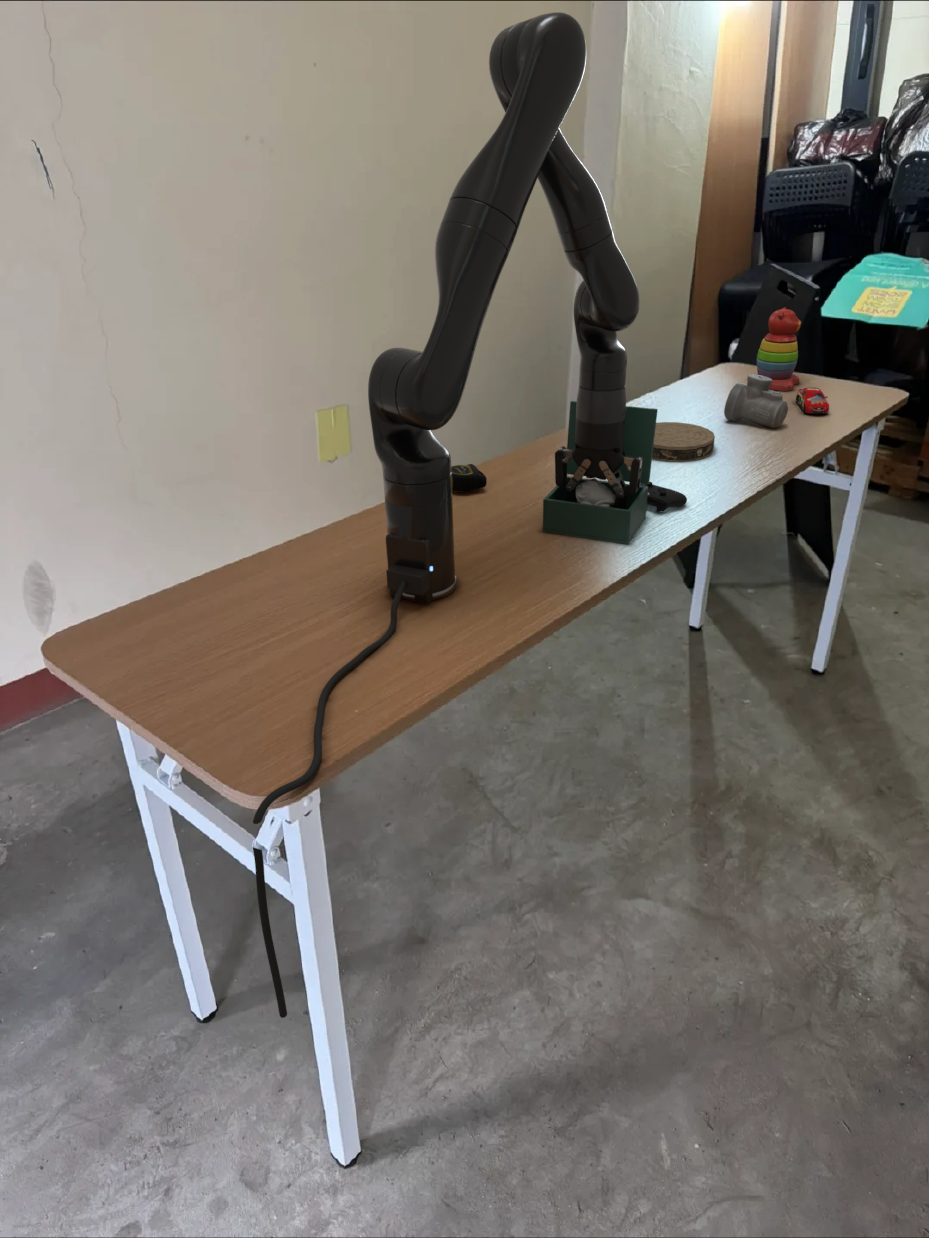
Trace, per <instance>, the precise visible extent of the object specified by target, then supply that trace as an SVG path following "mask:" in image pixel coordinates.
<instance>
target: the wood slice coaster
mask: <svg viewBox="0 0 929 1238" xmlns="http://www.w3.org/2000/svg"><path fill="white" fill-rule="evenodd" d="M715 439H716V436H715V433H714V432H713V431H712V430H710V429H709V428H707V427H704V426H702V425H698V424H693V423H686V422H678V421H677V422H676V421H662V422H656V428H655V437H654V445H653V454H652V461H660V462H666V463H686V462H687V463H688V462H695V461H699V460H705V459H706V458H708V457H709V456H711V455H712V454H713V452H714V447H715Z"/></svg>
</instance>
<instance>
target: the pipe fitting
mask: <svg viewBox="0 0 929 1238" xmlns="http://www.w3.org/2000/svg"><path fill="white" fill-rule="evenodd" d="M746 381H747V383H746V382H745V383H744V382H737V383H735V384H734V386H733V387H732V388H731V389H730V391H729V393H728V396H727V398H726V400H725V404H724V409H723V411H724V412H723V415H724V417H725V419H727V420H729V421H733V422H737V421H740V420H741V419H744V420H746V421H750V422H753V423H755V424H758V425H762V426H766V427H768V428H771V429H772V428H773V429H777V428H779V427H780V426H781V425H782V424H783V423H784V421H785V420H786V418H787V416H788V413H789V405H788V402H787V401H786V400H784V399H783V394H782V393H781V391H778V390H772V389H769V387H770V385H771V383H772V379H771V378H769V377H766V376H762V375H758V374H756V373H749V374H748V375H747V379H746Z"/></svg>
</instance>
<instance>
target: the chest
mask: <svg viewBox="0 0 929 1238" xmlns="http://www.w3.org/2000/svg"><path fill="white" fill-rule="evenodd" d="M572 477H573V476H568V475H567V478H569V479H572ZM590 479H591V478H584V477H582V479H581V480H580V482H579V483H578V484H577V486H578V485H580V484H581V483H583V482H585V481H587V480H590ZM598 480H599V481H600V482H601V484H603V485H605V486H607V488H609V489H610V490H611V491H612V493H613V494H614V495H615V496H616V497H617V495H616V493H615V491H614V489H613V487H611V486H610V484H609V482H608V480H600V479H598ZM625 484H626V486H629V483H625ZM577 486H576V487H577ZM566 497H567V491H566V489H565V488H564V487H562V486H557V485H556V486H554V488H552V489H551V491H549V493H548V494H547V495H546V496H545V497H544V498H543V500H542V533H543V532H544V533H550V534H556V535H557V534H558V535H563V536H569V537H576V538H583V539H590V540H595V541H601V542H608V543H615V544H621V545H630V543H631V541H632V540H633V538H634V537H635V536H636V534H637V532H638V531H639V529H640V528H641V526H642V525H643V523H644V522H645V520H646V518H647V508H648V504H647V497H648V487H647V486H640V488H639V490H638V491H637V492H636V494H635V495H634V496H627V500H626V509H619V508H615V507H614V508H612V507H604V506H597V505H590V504H583V503H576V502H568V501H566Z"/></svg>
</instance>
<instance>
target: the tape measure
mask: <svg viewBox="0 0 929 1238" xmlns="http://www.w3.org/2000/svg"><path fill="white" fill-rule="evenodd" d="M451 473H452V491H453V492H457V493H469V492H473V491H478V490H480V489H484V488H485V487H486V486H487V483H488V478H487V476H486V475H485V474H484V473H483V472H482V471H481V470H479V468H478V467H477V466H476V465H475V464H473V463H469V464H468V463H467V464H456V465H451Z"/></svg>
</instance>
